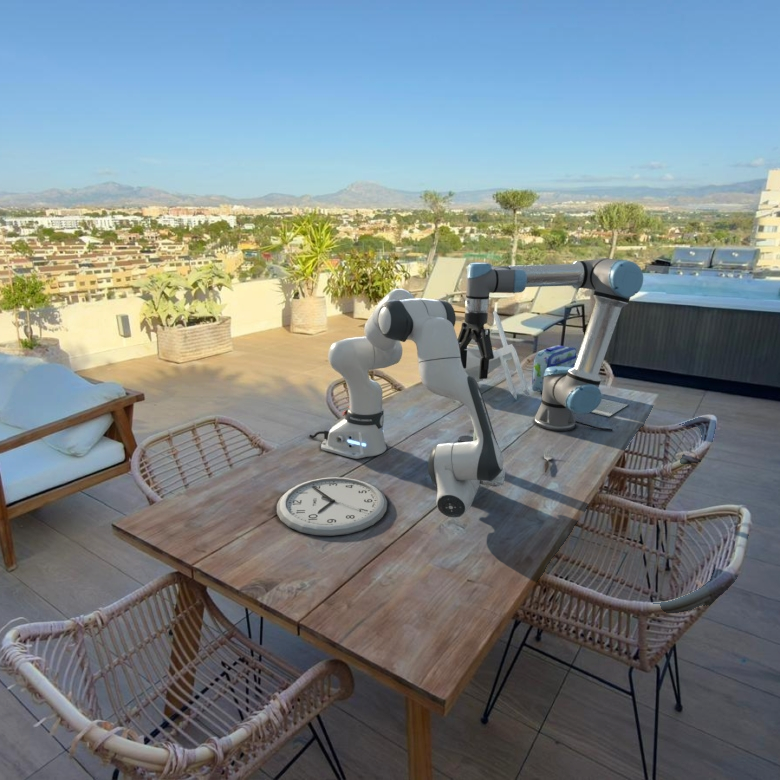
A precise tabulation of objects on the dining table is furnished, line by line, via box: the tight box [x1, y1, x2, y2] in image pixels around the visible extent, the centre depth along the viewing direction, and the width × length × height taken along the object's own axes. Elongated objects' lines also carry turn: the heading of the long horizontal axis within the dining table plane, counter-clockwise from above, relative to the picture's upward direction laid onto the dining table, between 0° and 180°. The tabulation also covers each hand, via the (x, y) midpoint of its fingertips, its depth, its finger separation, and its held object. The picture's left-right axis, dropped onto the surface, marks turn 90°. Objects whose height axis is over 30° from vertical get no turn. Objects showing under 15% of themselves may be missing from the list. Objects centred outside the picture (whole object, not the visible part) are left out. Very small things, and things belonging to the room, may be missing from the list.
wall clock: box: [276, 476, 388, 537], centre depth 142 cm, size 30×2×30 cm
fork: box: [543, 448, 554, 473], centre depth 170 cm, size 3×16×2 cm, turn 160°
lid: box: [457, 435, 474, 443], centre depth 185 cm, size 6×6×2 cm
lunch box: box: [531, 345, 577, 393], centre depth 245 cm, size 26×11×21 cm, turn 134°
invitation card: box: [590, 398, 629, 418], centre depth 226 cm, size 21×1×15 cm
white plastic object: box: [464, 310, 531, 400], centre depth 245 cm, size 37×45×31 cm
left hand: (473, 459), depth 155 cm, fingers open, 8 cm apart
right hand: (472, 373), depth 178 cm, fingers open, 13 cm apart
